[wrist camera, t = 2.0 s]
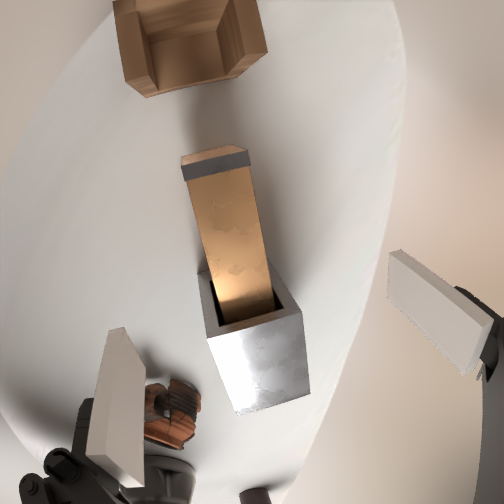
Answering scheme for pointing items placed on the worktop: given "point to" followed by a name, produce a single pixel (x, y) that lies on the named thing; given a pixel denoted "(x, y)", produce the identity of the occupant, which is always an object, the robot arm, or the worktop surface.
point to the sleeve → (258, 349)
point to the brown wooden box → (186, 41)
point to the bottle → (255, 496)
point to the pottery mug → (181, 414)
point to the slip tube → (230, 230)
